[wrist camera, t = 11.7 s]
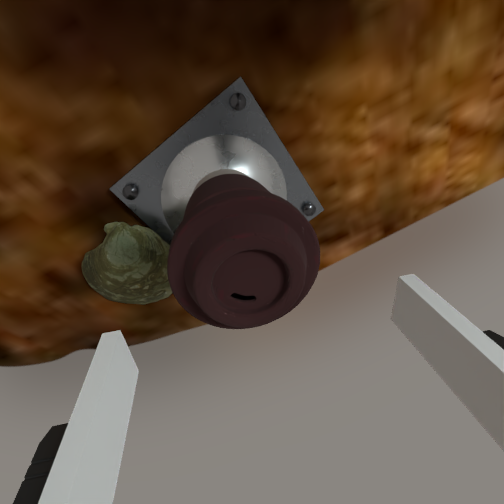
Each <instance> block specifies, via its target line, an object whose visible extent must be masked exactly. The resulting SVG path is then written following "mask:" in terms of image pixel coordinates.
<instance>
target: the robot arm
mask: <svg viewBox="0 0 504 504" xmlns="http://www.w3.org/2000/svg"><path fill="white" fill-rule="evenodd" d="M391 319H392V321H393V322H394V323H395V325H396V326H397V327H398V328H399V329H400V330H401V332H402V333H403V334H404V335H405V336H406V337H407V339H409V341H410V342H411V343H412V344H413V345H414V347H415V348H416V349H417V350H418V351H419V353H420V354H421V355H422V356H423V357H424V358H425V360H426V361H427V362H428V363H429V364H430V365H431V367H433V369H434V370H435V371H436V372H437V373H438V375H439V376H440V377H441V378H442V379H443V381H444V382H445V383H446V384H447V385H448V386H449V388H450V389H451V390H452V391H453V392H454V394H455V395H456V396H457V397H458V398H459V399H460V401H461V402H462V403H463V404H464V405H465V406H466V408H467V409H468V410H469V411H470V412H471V413H472V415H473V416H474V417H475V418H476V419H477V420H478V422H479V423H480V424H481V425H482V426H483V428H484V429H485V430H486V431H487V432H488V433H489V435H490V436H491V437H492V438H493V439H494V440H495V442H496V443H497V444H498V445H499V446H500V447H501V449H502V450H503V451H504V337H502V336H500V335H498V334H496V333H494V332H492V331H490V330H487V331H483V332H482V331H481V330H479V329H478V328H477V327H476V326H475V325H474V324H473V323H471V322H470V321H469V320H468V319H467V318H465V317H464V316H463V315H462V314H461V313H459V312H458V311H457V310H456V309H455V308H453V307H452V306H451V305H450V304H449V303H448V302H446V301H445V300H444V299H443V298H441V297H440V296H439V295H438V294H437V293H436V292H434V291H433V290H432V289H431V288H429V286H427V285H426V284H425V283H424V282H422V281H421V280H420V279H419V278H418V277H417V276H415V275H414V274H410V275H405V276H400V277H399V278H398V284H397V289H396V294H395V299H394V305H393V310H392V316H391ZM138 373H139V370H138V368H137V366H136V364H135V361H134V359H133V357H132V355H131V353H130V350H129V348H128V346H127V344H126V341H125V339H124V337H123V335H122V333H121V330H118V331H113V332H108V333H103V334H102V336H101V338H100V341H99V344H98V346H97V349H96V352H95V354H94V357H93V360H92V362H91V365H90V368H89V370H88V373H87V375H86V378H85V381H84V383H83V386H82V389H81V391H80V394H79V397H78V399H77V402H76V405H75V407H74V410H73V413H72V415H71V418H70V420H69V423H66V424H62V425H57V426H52V428H51V429H50V430H49V432H48V433H47V434H46V436H45V437H44V438H43V440H42V441H41V442H40V443H39V445H38V448H37V450H36V452H35V454H34V457H33V459H32V461H31V463H32V464H31V465H30V466H29V468H28V470H27V473H26V475H25V480H24V481H23V482H22V484H21V487H20V489H19V491H18V493H17V495H16V498H15V500H14V503H13V504H113V499H114V494H115V489H116V484H117V479H118V474H119V469H120V464H121V459H122V453H123V449H124V444H125V439H126V434H127V429H128V424H129V419H130V414H131V408H132V403H133V398H134V393H135V388H136V383H137V378H138Z"/></svg>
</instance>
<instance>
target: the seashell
mask: <svg viewBox="0 0 504 504" xmlns="http://www.w3.org/2000/svg"><path fill="white" fill-rule="evenodd" d="M104 231H105V232H106V233H107V235H106V237H105V239H104V241H103V243H102V244H100V245H99V246H98V247H97V248H96V249H94V250H91V251H89V252H87V253H86V254H85V257H84V259H83V262H82V272H83V275H84V277H85V279H86V281H87V282H88V283H89V285H90V286H91V287H92V288H93V289H94V290H95V291H96V292H98V293H99V294H101V295H102V296H103V297H105V298H106V299H108V300H111V301H115V302H121V303H130V304H143V305H144V304H148V303H152V302H157V301H159V300H161V299H164V298H167V297H169V296H170V295H171V294H172V290H171V287H170V284H169V281H168V275H167V261H168V254H169V248H170V245H169V244H168V243H167V242H165V241H163V240H162V238H161V237H160V236H159V235H158V234H157V233H155V232H154V231H153V230H151V229H149V228H146V227H142V226H140V225H133V226H130V225H128V224H126V223H124V222H120V223H119V222H113V223H108V224H106V225H105V226H104Z"/></svg>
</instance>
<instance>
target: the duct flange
mask: <svg viewBox="0 0 504 504" xmlns="http://www.w3.org/2000/svg"><path fill="white" fill-rule="evenodd" d="M221 169H233V170H237V171H240V172H242V173H244V174H246V175H248V176H249V177H250V178H252V179H254V180H256V181H257V182H259V183H260V184H261V185H263V186H264V187H265V188H266V189H267V190H268V191H269V192H271V193H272V194H275V195H277V196H280V197H282V198H283V199H285V200H287V201H288V202H290V203H291V204H292V205H293V206H295V207H296V208H297V209H298V210H299V211H300V212H301V213H302V214H303V216H304V217H305V218H306V219H307V220H308V221H310V220H311V219H312V218H314V217H315V216H317V215H318V214H319V213H321V212H322V211H323V210H324V209H323V207H322V206H321V204H320V203H319V201H318V199H317V198H316V196H315V195H314V193H313V191H312V190H311V188H310V187H309V185H308V183H307V182H306V180H305V179H304V177H303V175H302V174H301V172H300V171H299V169H298V167H297V166H296V164H295V163H294V161H293V159H292V158H291V156H290V155H289V153H288V151H287V150H286V148H285V147H284V145H283V143H282V142H281V140H280V139H279V137H278V135H277V134H276V132H275V131H274V129H273V127H272V126H271V124H270V123H269V121H268V119H267V118H266V116H265V115H264V113H263V111H262V110H261V108H260V107H259V105H258V103H257V102H256V100H255V99H254V97H253V95H252V94H251V92H250V91H249V89H248V87H247V86H246V84H245V83H244V81H243V79H242V78H241V77H239V78H238V79H237V80H235V81H234V82H233V83H232V84H231V85H230V86H228V87H227V88H226V89H225V90H224V91H223V92H221V93H220V94H219V95H218V96H217V97H216V98H214V99H213V100H212V101H211V102H210V103H208V104H207V105H206V106H205V107H204V108H203V109H201V110H200V111H199V112H198V113H197V114H196V115H194V116H193V117H192V118H191V119H190V120H189V121H187V122H186V123H185V124H184V125H183V126H182V127H180V128H179V129H178V130H177V131H176V132H175V133H173V134H172V135H171V136H170V137H169V138H168V139H166V140H165V141H164V142H163V143H162V144H161V145H159V146H158V147H157V148H156V149H155V150H154V151H152V152H151V153H150V154H149V155H148V156H147V157H145V158H144V159H143V160H142V161H141V162H140V163H138V164H137V165H136V166H135V167H134V168H133V169H131V170H130V171H129V172H128V173H127V174H125V175H124V176H123V177H122V178H121V179H120V180H118V181H117V182H116V183H115V184H114V185H113V186H112V187H111V188H110V190H111V191H112V192H113V193H114V194H115V195H116V196H117V197H118V198H119V199H120V200H121V201H122V202H124V203H125V204H126V205H127V206H128V207H129V208H130V209H131V210H132V211H133V212H134V213H135V214H136V215H137V216H138V217H139V218H141V219H142V220H143V221H144V222H145V223H146V224H147V225H148V226H149V227H150V228H151V229H152V230H153V231H154V232H155V233H157V234H158V235H159V236H160V237H161V238H162V239H163V240H164V241H165V242H167V243H168V244H169V245H170V244H171V241H172V238H173V236H174V233H175V231H176V229H177V228H178V226H179V225H180V223H181V222H182V220H183V217H184V214H185V210H186V206H187V204H188V201H189V199H190V197H191V195H192V193H193V190H194V188H195V187H196V185H197V184H198V182H199V181H200V180H201V179H202V178H203V177H205V176H206V175H208V174H209V173H211V172H214V171H216V170H221Z"/></svg>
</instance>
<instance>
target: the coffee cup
mask: <svg viewBox="0 0 504 504" xmlns="http://www.w3.org/2000/svg"><path fill="white" fill-rule="evenodd" d="M319 264H320V247H319V242H318V239H317V236H316V233H315V231H314V229H313V227H312V226H311V224H310V223H309V221H308V220H307V219H306V218H305V217H304V216H303V214H302V213H301V212H300V211H299V210H298V209H297V208H296V207H295V206H293V205H292V204H291V203H290V202H288V201H287V200H285V199H283V198H282V197H280V196H277V195H275V194H272V193H271V192H269V191H268V190H267V189H266V188H265V187H264V186H263V185H261V184H260V183H259V182H257V181H256V180H254V179H252V178H250V177H249V176H248V175H246V174H244V173H242V172H240V171H237V170H233V169H221V170H216V171H214V172H211V173H209V174H208V175H206V176H205V177H203V178H202V179H201V180H200V181H199V182H198V184H197V185H196V187H195V188H194V190H193V193H192V195H191V197H190V199H189V201H188V204H187V206H186V210H185V214H184V217H183V220H182V222H181V223H180V225H179V226H178V228H177V229H176V231H175V233H174V236H173V238H172V241H171V244H170V248H169V254H168V261H167V275H168V281H169V284H170V287H171V290H172V293H173V294H174V296H175V298H176V299H177V301H178V302H179V303H180V305H181V306H182V307H183V308H184V309H185V310H186V311H187V312H188V313H190V314H191V315H192V316H194V317H195V318H197V319H199V320H201V321H203V322H205V323H207V324H210V325H213V326H216V327H220V328H227V329H245V328H253V327H257V326H261V325H264V324H268V323H270V322H272V321H274V320H276V319H279V318H280V317H282V316H284V315H285V314H287V313H288V312H290V311H291V310H292V309H293V308H295V307H296V306H297V305H298V304H299V303H300V302H301V301H302V300H303V298H304V297H305V296H306V295H307V294H308V292H309V290H310V289H311V287H312V285H313V283H314V281H315V279H316V277H317V274H318V269H319Z"/></svg>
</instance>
